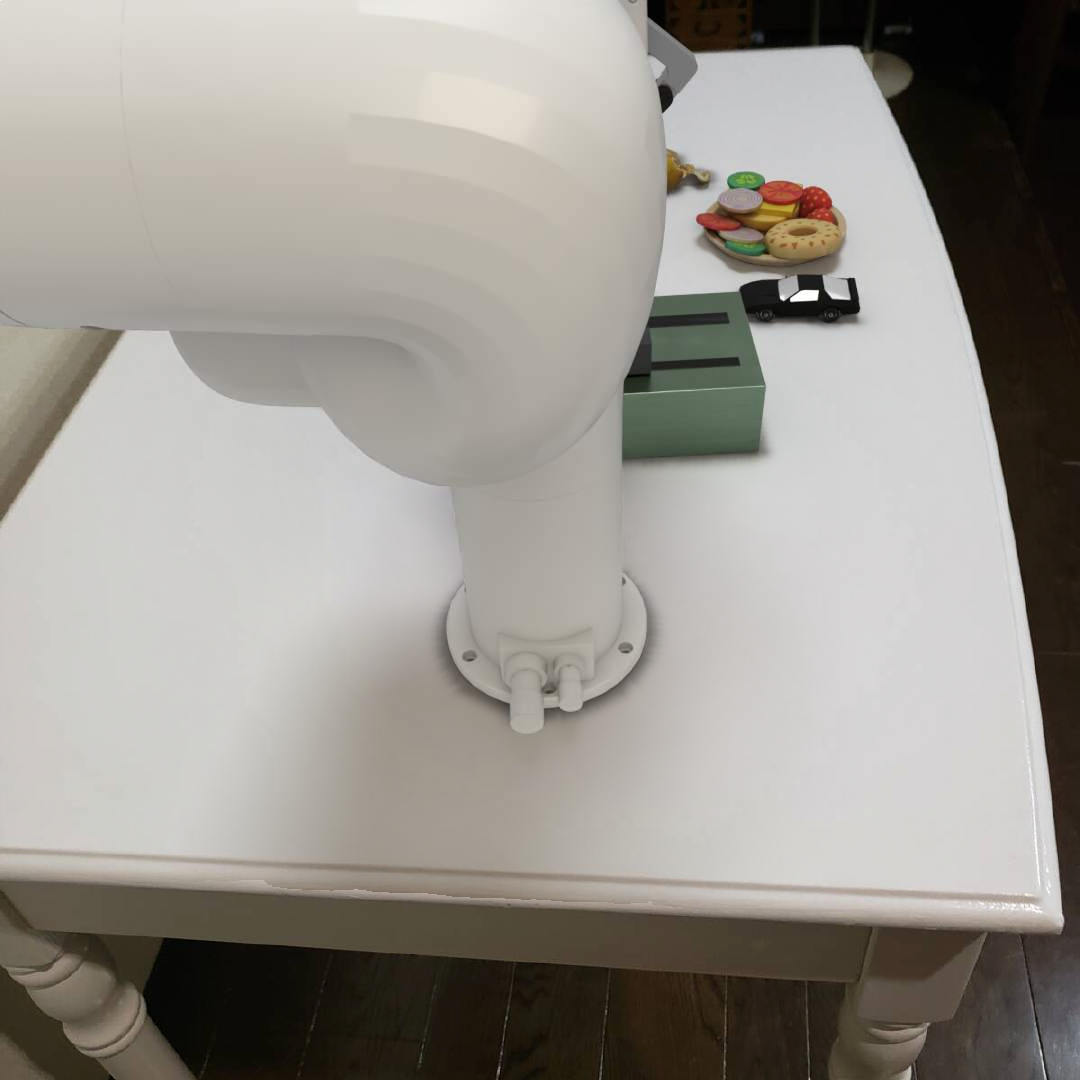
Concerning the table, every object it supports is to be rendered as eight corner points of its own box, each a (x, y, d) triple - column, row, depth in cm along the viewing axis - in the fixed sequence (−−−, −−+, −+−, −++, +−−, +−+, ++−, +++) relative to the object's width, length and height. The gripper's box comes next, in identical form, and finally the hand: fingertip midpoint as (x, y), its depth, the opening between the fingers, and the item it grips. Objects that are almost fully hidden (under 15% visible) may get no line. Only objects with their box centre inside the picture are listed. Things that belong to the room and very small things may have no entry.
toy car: (736, 322, 93) (738, 294, 92) (734, 295, 96) (736, 268, 94) (858, 323, 92) (863, 295, 91) (853, 295, 95) (857, 268, 93)
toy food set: (832, 284, 97) (837, 250, 94) (683, 264, 100) (684, 232, 98) (853, 208, 105) (858, 176, 103) (715, 193, 109) (717, 161, 107)
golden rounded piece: (720, 181, 111) (722, 146, 108) (654, 208, 107) (655, 172, 105) (667, 152, 116) (668, 117, 113) (602, 177, 112) (602, 142, 110)
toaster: (758, 451, 82) (766, 385, 77) (594, 460, 82) (593, 395, 78) (734, 355, 90) (740, 290, 86) (586, 363, 90) (584, 299, 86)
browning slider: (651, 373, 79) (651, 343, 77) (617, 375, 79) (617, 345, 77) (648, 357, 80) (649, 326, 79) (615, 359, 80) (615, 328, 79)
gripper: (376, -89, 55) (422, 234, 68) (728, -112, 55) (708, 217, 67) (387, -132, 61) (427, 175, 73) (708, -153, 60) (693, 159, 73)
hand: (562, 193), depth 70 cm, fingers open, 7 cm apart
